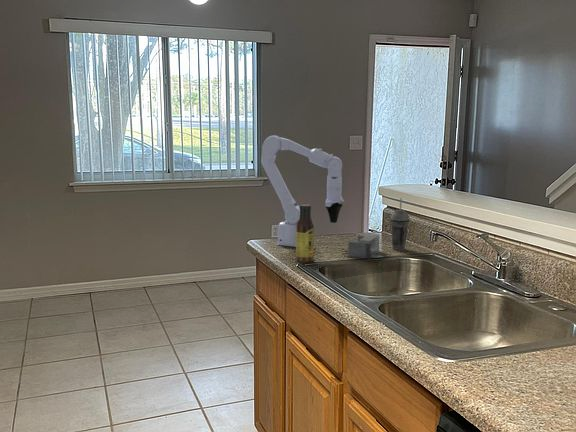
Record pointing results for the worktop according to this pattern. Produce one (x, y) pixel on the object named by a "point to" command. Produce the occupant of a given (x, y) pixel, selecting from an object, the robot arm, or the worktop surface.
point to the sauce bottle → (305, 235)
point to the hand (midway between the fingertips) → (333, 222)
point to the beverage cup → (399, 228)
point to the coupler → (364, 246)
